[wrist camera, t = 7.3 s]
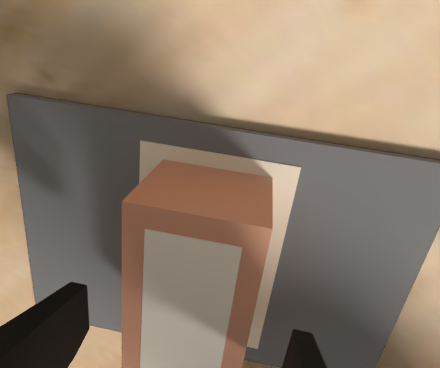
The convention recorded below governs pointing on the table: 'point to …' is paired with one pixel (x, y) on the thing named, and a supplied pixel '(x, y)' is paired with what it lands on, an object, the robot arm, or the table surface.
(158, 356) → the pink box with label
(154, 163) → the charcoal mat
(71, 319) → the robot arm
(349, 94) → the table surface
